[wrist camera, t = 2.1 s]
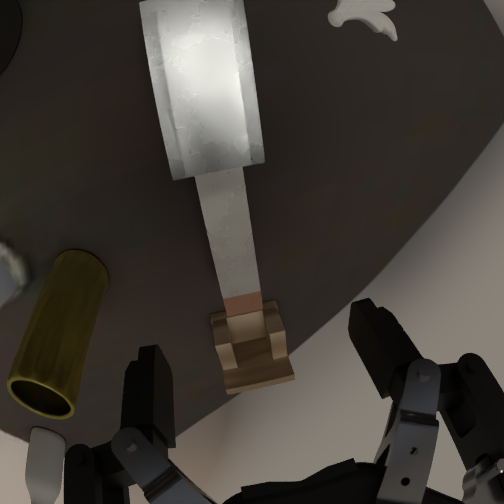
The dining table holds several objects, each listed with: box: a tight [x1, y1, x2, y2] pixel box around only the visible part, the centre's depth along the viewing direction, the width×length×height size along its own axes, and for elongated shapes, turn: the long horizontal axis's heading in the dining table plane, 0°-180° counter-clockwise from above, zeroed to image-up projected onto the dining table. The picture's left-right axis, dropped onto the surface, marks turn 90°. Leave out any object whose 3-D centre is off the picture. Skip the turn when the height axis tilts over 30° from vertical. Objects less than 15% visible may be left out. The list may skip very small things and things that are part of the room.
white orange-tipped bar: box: [195, 167, 263, 316], centre depth 21 cm, size 22×3×4 cm, turn 7°
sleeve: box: [139, 0, 265, 181], centre depth 17 cm, size 11×5×7 cm, turn 7°
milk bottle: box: [25, 427, 65, 504], centre depth 35 cm, size 8×8×20 cm
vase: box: [7, 250, 109, 419], centre depth 21 cm, size 6×6×14 cm
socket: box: [210, 300, 295, 394], centre depth 31 cm, size 5×7×7 cm
